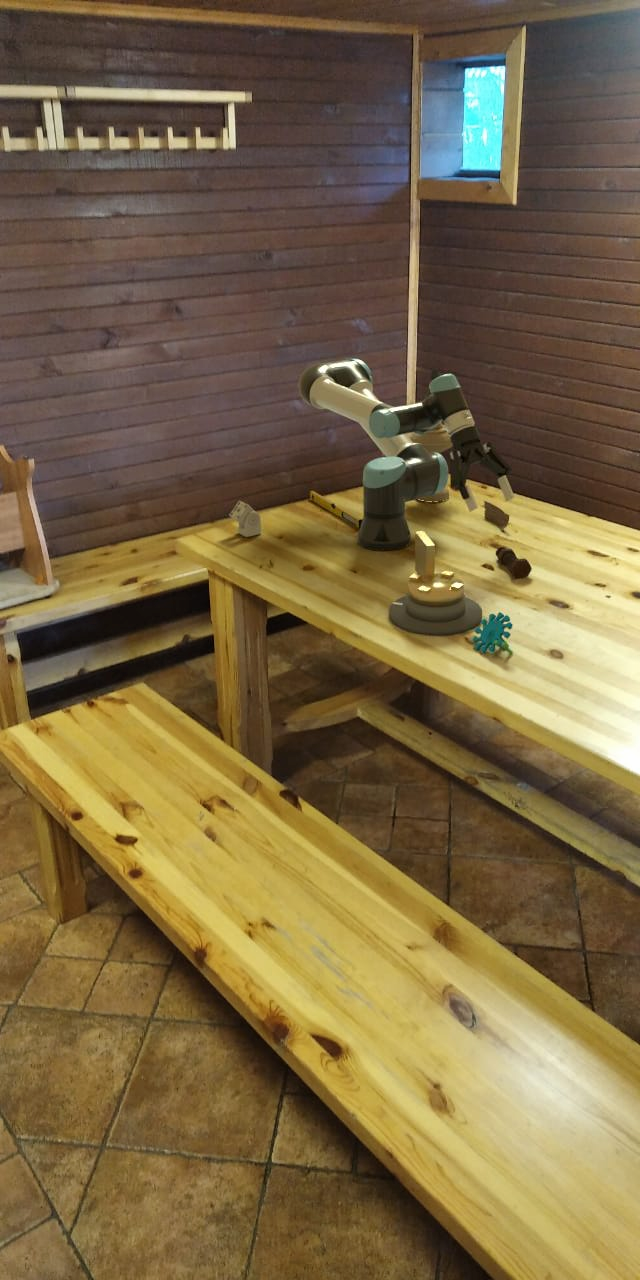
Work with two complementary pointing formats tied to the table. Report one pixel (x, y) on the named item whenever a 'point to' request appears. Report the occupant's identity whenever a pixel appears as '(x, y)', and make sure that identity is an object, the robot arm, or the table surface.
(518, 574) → the bolt
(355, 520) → the spirit level
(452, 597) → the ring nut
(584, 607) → the table surface
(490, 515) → the wood plank
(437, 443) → the oil lamp
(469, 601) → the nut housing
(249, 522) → the mechanical component
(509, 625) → the teal spiky piece
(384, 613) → the table surface
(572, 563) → the table surface
